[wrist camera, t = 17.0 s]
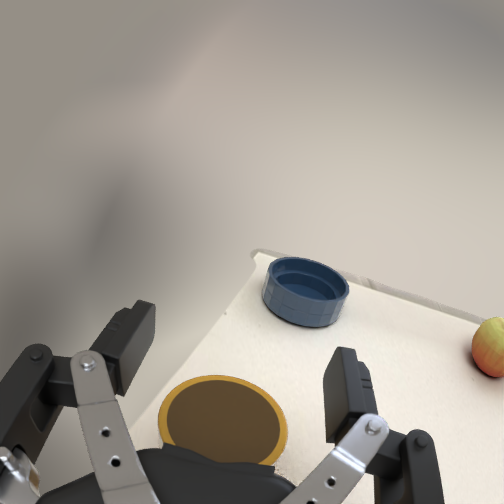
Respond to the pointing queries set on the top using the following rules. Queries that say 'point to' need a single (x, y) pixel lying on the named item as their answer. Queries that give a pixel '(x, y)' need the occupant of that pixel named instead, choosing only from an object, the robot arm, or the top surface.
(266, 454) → the cup
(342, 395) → the robot arm
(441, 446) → the top surface
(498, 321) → the apple
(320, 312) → the bowl
